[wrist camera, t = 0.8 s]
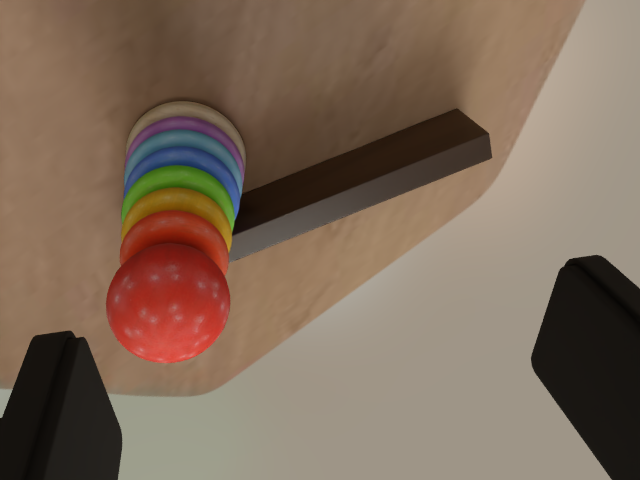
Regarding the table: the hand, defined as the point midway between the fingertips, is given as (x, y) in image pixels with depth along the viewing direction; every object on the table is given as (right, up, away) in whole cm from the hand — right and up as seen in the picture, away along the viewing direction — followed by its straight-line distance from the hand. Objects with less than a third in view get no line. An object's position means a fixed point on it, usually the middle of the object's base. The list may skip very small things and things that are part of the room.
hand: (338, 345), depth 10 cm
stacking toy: (-10, +8, +25) cm, 28 cm away
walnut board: (-2, +6, +28) cm, 29 cm away
